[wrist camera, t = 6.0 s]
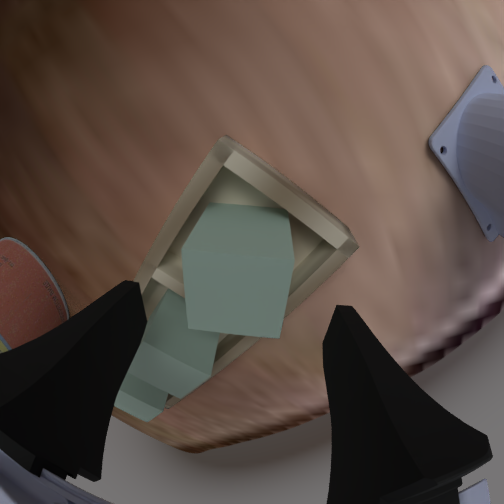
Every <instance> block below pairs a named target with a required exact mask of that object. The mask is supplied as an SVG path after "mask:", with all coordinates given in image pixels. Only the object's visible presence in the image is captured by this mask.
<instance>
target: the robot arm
mask: <svg viewBox="0 0 504 504" xmlns="http://www.w3.org/2000/svg"><path fill="white" fill-rule="evenodd" d="M492 79H493V81H492ZM442 146H443V152H442V153H441V152H440V148H441V147H442ZM429 147H430V149H431V150H432V151H433V153H434V154H435V155H436V157H437V158H438V159H439V161H440V162H441V163H442V165H443V166H444V168H445V169H446V170H447V172H448V173H449V175H450V176H451V178H452V179H453V181H454V182H455V184H456V185H457V187H458V188H459V190H460V192H461V193H462V195H463V197H464V198H465V200H466V201H467V203H468V205H469V207H470V208H471V210H472V212H473V214H474V215H475V217H476V219H477V221H478V223H479V225H480V227H481V229H482V231H483V232H484V234H485V236H486V239H487V240H488V241H490V242H492V241H494V240H495V239H496V237H497V236H498V235H499V234H500V235H501V236H502V237H503V238H504V88H503V86H502V84H501V83H500V81H499V79H498V78H497V76H496V74H495V73H494V71H493V70H492V68H491V67H490V66H488V65H484V66H482V68H481V69H480V71H479V72H478V73H477V75H476V76H475V78H474V79H473V81H472V82H471V83H470V85H469V86H468V88H467V89H466V90H465V92H464V93H463V95H462V96H461V97H460V99H459V100H458V101H457V103H456V104H455V105H454V107H453V108H452V109H451V111H450V112H449V113H448V115H447V116H446V117H445V119H444V120H443V121H442V122H441V124H440V125H439V126H438V127H437V129H436V130H435V131H434V133H433V134H432V135H431V136H430V138H429ZM487 226H488V227H487ZM147 322H148V321H147V317H146V313H145V308H144V304H143V299H142V294H141V289H140V284H139V282H133V281H127V280H125V281H123V282H122V283H120V284H118V285H117V286H115V287H114V288H113V289H111V290H110V291H108V292H107V293H105V294H104V295H103V296H101V297H100V298H98V299H97V300H96V301H94V302H93V303H91V304H90V305H89V306H87V307H86V308H84V309H83V310H82V311H80V312H79V313H77V314H75V315H74V316H72V317H71V318H69V319H68V320H67V321H65V322H64V323H62V324H60V325H59V326H57V327H56V328H54V329H52V330H50V331H49V332H47V333H45V334H43V335H41V336H40V337H38V338H36V339H34V340H31V341H29V342H27V343H25V344H23V345H21V346H18V347H16V348H14V349H11V350H8V351H6V352H3V353H0V504H113V503H111V502H108V501H106V500H104V499H101V498H99V497H97V496H95V495H93V494H91V493H88V492H86V491H84V490H82V489H80V488H78V487H77V486H74V485H73V484H71V483H69V482H67V481H65V479H66V476H67V475H68V476H70V477H72V478H74V479H76V477H77V474H79V475H80V476H83V477H85V478H87V479H89V480H91V481H93V482H95V481H98V480H100V479H101V470H102V460H103V452H104V446H105V440H106V435H107V430H108V426H109V421H110V417H111V414H112V410H113V407H114V404H115V400H116V397H117V394H118V392H119V389H120V387H121V385H122V382H123V380H124V378H125V376H126V374H127V372H128V369H129V367H130V365H131V363H132V361H133V359H134V357H135V355H136V352H137V350H138V348H139V346H140V344H141V341H142V338H143V335H144V332H145V329H146V325H147ZM323 368H324V375H325V381H326V388H327V394H328V401H329V408H330V415H331V423H332V424H331V425H332V454H331V472H330V483H329V492H328V499H327V504H491V503H490V496H489V490H488V484H487V479H483V480H481V481H479V482H477V483H475V484H473V485H471V486H470V487H468V488H466V489H464V490H462V491H460V492H458V487H460V486H461V485H462V479H461V477H463V476H465V475H467V474H468V473H470V472H472V471H474V470H476V469H477V468H479V467H480V466H482V465H483V464H485V463H487V462H488V461H490V460H491V459H492V457H493V455H492V451H491V448H490V444H489V440H488V437H487V435H485V434H483V433H482V432H480V431H478V430H476V429H474V428H473V427H471V426H469V425H467V424H466V423H464V422H463V421H461V420H460V419H458V418H457V417H455V416H454V415H453V414H451V413H450V412H448V411H447V410H446V409H444V408H443V407H442V406H441V405H440V404H438V403H437V402H436V401H435V400H434V399H432V398H431V397H430V396H429V395H428V394H427V393H426V392H424V391H423V390H422V389H421V388H420V387H419V386H418V385H417V384H416V383H415V382H414V381H413V380H412V379H411V378H410V377H409V376H408V375H407V374H406V373H405V371H404V370H403V369H402V368H401V367H400V366H399V365H398V364H397V362H396V361H395V360H394V359H393V358H392V357H391V355H390V354H389V353H388V352H387V351H386V349H385V348H384V347H383V346H382V344H381V343H380V342H379V340H378V339H377V338H376V337H375V335H374V334H373V333H372V331H371V330H370V329H369V327H368V326H367V325H366V323H365V322H364V321H363V319H362V318H361V317H360V315H359V314H358V313H357V312H356V310H355V309H354V308H353V307H352V306H344V305H336V308H335V310H334V313H333V316H332V319H331V322H330V324H329V327H328V330H327V332H326V335H325V338H324V340H323Z"/></svg>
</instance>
